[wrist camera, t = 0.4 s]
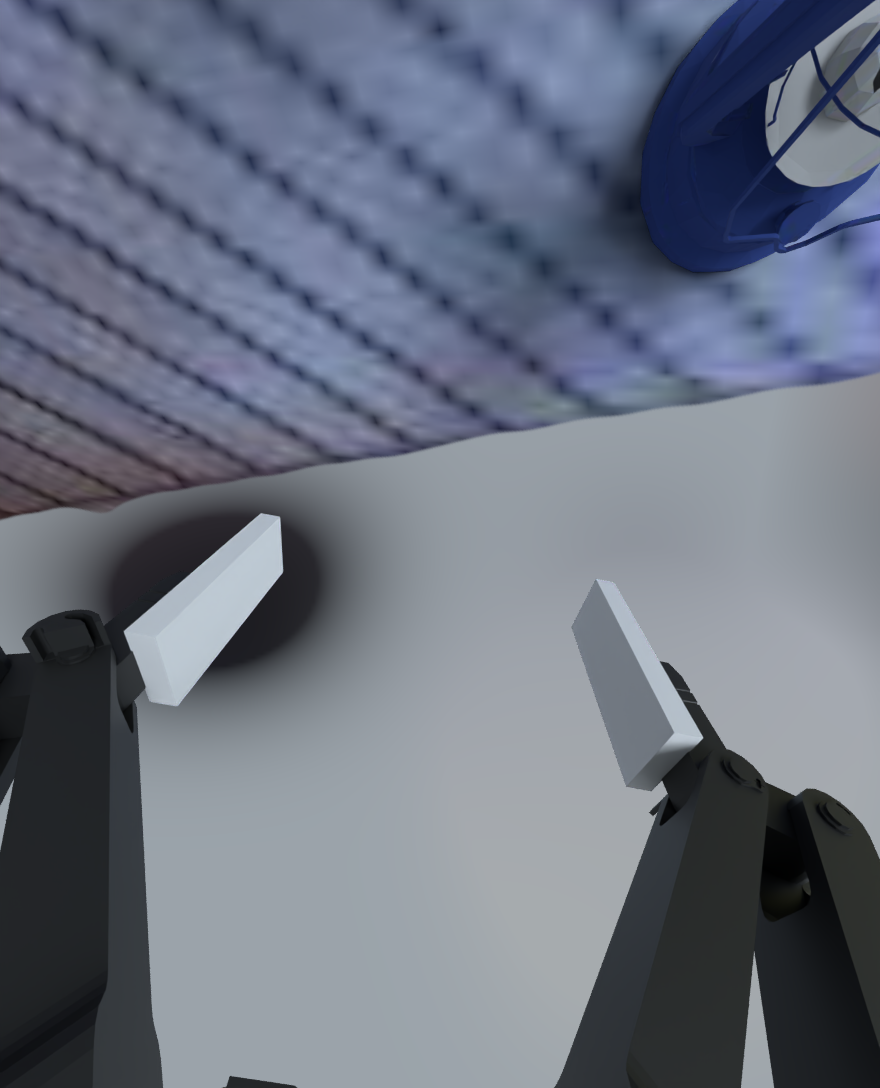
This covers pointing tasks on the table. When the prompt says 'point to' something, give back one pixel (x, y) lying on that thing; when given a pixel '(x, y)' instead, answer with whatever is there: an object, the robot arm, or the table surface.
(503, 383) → the table surface
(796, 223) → the lantern
